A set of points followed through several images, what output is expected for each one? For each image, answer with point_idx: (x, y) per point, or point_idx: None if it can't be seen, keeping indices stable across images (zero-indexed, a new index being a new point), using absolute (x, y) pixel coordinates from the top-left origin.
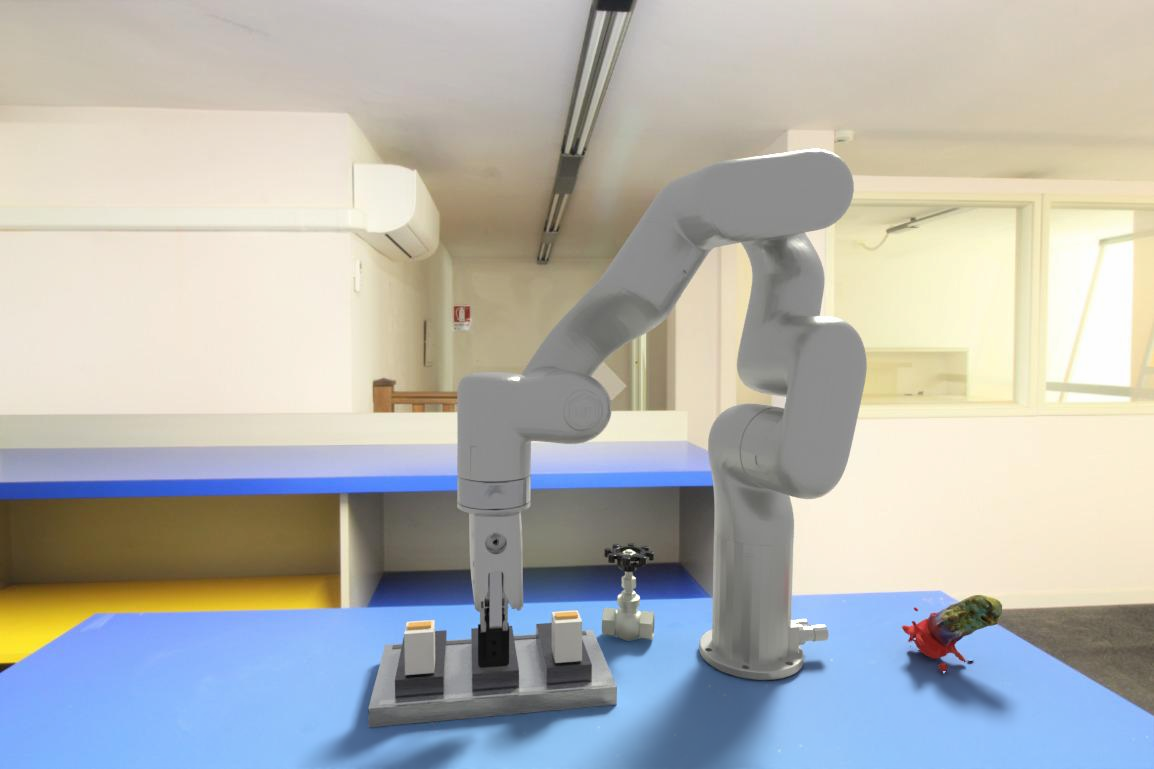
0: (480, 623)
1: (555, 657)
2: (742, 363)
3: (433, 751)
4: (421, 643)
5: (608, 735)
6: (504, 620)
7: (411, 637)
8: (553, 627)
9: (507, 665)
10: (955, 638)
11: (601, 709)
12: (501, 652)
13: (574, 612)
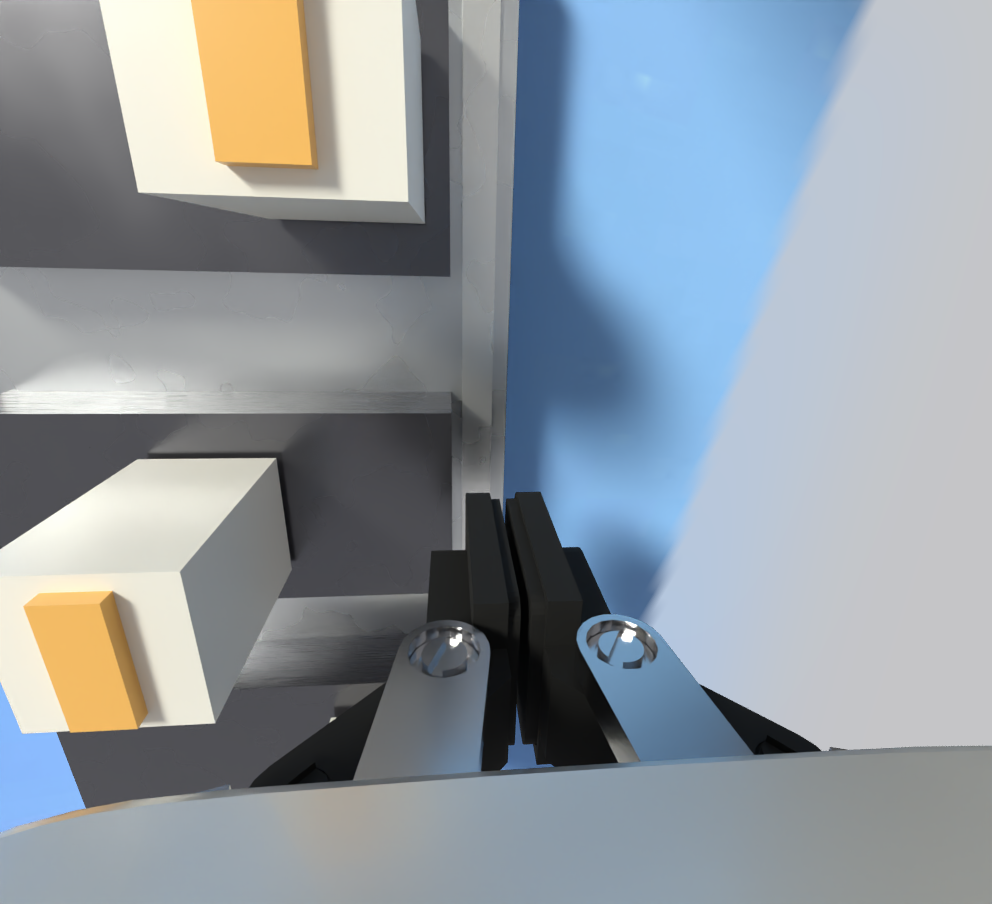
0: (237, 677)
1: (423, 219)
2: None
3: (623, 604)
4: None
5: (707, 53)
6: (791, 738)
7: None
8: (312, 206)
9: (400, 460)
10: None
11: (531, 30)
12: (588, 566)
13: None
